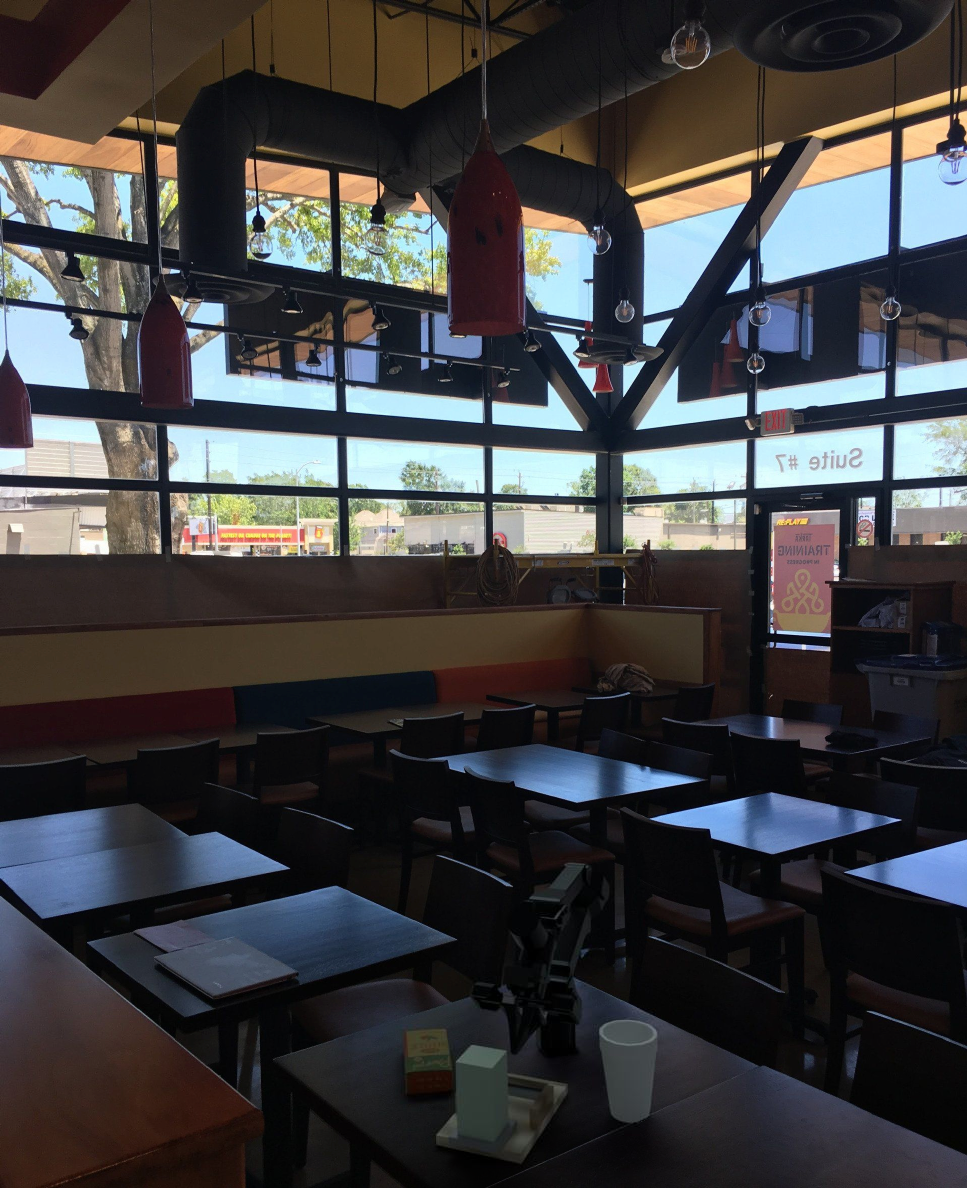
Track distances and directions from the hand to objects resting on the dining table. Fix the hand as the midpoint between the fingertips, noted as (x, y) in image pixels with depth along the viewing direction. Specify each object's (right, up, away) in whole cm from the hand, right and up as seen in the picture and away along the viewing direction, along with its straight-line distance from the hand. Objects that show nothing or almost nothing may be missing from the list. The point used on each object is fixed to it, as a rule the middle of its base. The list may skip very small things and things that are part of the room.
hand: (513, 1053), depth 160 cm
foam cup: (+19, -8, -3) cm, 21 cm away
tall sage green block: (-5, -7, -12) cm, 15 cm away
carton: (-15, -9, +13) cm, 22 cm away
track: (-1, -8, -4) cm, 9 cm away
